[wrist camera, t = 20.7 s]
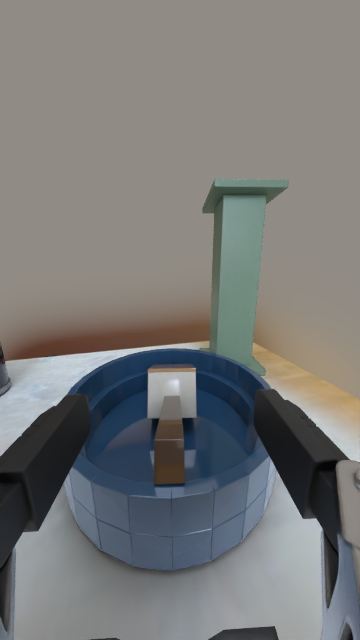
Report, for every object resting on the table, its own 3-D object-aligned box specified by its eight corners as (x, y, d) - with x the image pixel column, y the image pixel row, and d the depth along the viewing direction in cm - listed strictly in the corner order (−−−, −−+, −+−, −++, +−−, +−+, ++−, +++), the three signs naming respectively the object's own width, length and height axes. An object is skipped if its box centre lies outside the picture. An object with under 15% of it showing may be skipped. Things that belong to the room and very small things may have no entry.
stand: (266, 376, 35) (289, 179, 27) (207, 377, 34) (214, 178, 27) (243, 351, 46) (254, 208, 39) (199, 352, 46) (202, 207, 39)
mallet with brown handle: (217, 483, 11) (214, 386, 12) (120, 486, 11) (123, 387, 11) (192, 402, 27) (191, 363, 28) (153, 402, 27) (153, 364, 28)
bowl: (60, 417, 25) (52, 373, 23) (189, 371, 37) (189, 340, 35) (89, 739, 8) (66, 648, 6) (315, 455, 20) (326, 401, 18)
